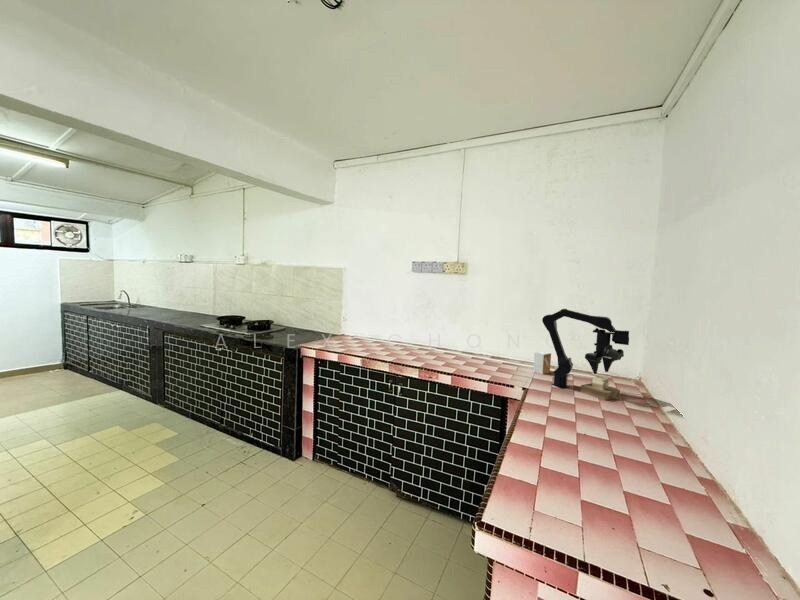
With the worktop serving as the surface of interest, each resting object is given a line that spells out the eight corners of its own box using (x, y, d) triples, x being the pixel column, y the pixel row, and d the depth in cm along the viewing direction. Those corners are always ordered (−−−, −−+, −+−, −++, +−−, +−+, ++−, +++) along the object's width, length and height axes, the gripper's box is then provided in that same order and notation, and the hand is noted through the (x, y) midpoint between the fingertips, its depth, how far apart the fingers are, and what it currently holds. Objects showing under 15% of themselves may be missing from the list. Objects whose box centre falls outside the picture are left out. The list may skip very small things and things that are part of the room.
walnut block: (604, 401, 145) (605, 393, 145) (580, 392, 156) (580, 385, 156) (619, 398, 150) (620, 390, 150) (594, 389, 161) (595, 382, 161)
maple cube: (602, 389, 150) (603, 379, 149) (592, 386, 154) (592, 377, 154) (608, 388, 152) (608, 378, 152) (597, 385, 156) (598, 375, 156)
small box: (542, 376, 181) (543, 354, 181) (532, 373, 187) (534, 352, 186) (550, 374, 186) (551, 353, 185) (540, 371, 191) (541, 351, 190)
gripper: (608, 346, 141) (606, 379, 141) (631, 344, 149) (629, 375, 150) (585, 342, 151) (583, 372, 151) (607, 340, 159) (605, 369, 160)
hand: (600, 372), depth 153 cm, fingers open, 9 cm apart
